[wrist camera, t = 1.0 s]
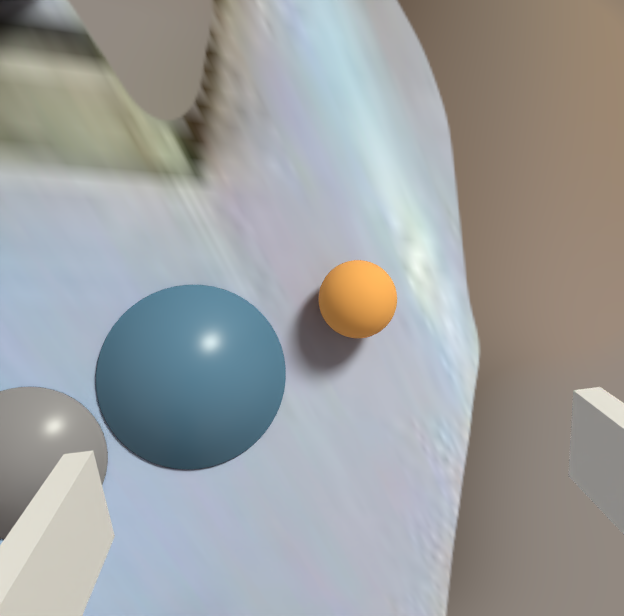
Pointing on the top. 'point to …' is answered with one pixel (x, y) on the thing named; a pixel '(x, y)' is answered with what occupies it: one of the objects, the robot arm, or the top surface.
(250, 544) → the top surface
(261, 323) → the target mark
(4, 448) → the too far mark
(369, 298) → the ball
